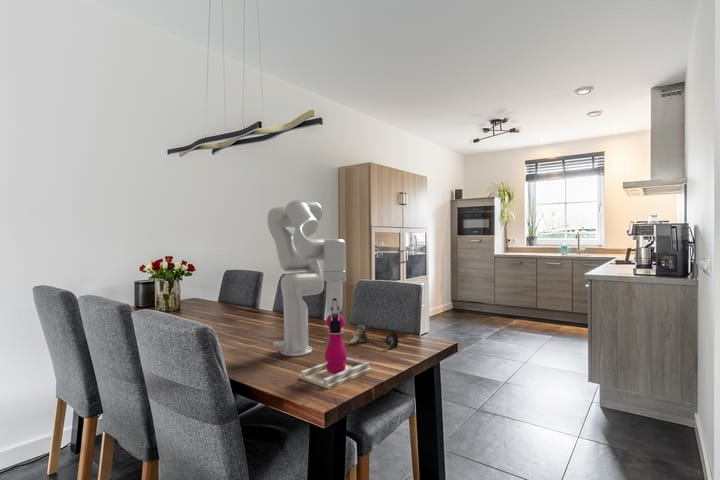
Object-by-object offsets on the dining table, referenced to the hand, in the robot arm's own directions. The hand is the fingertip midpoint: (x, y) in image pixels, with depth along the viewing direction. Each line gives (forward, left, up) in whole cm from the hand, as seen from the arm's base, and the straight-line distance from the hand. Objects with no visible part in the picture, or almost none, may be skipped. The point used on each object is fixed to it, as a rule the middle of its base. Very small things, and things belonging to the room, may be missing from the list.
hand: (335, 329), depth 127 cm
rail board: (0, 0, -15) cm, 15 cm away
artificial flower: (+15, +35, -15) cm, 41 cm away
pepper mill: (0, 0, -13) cm, 13 cm away
